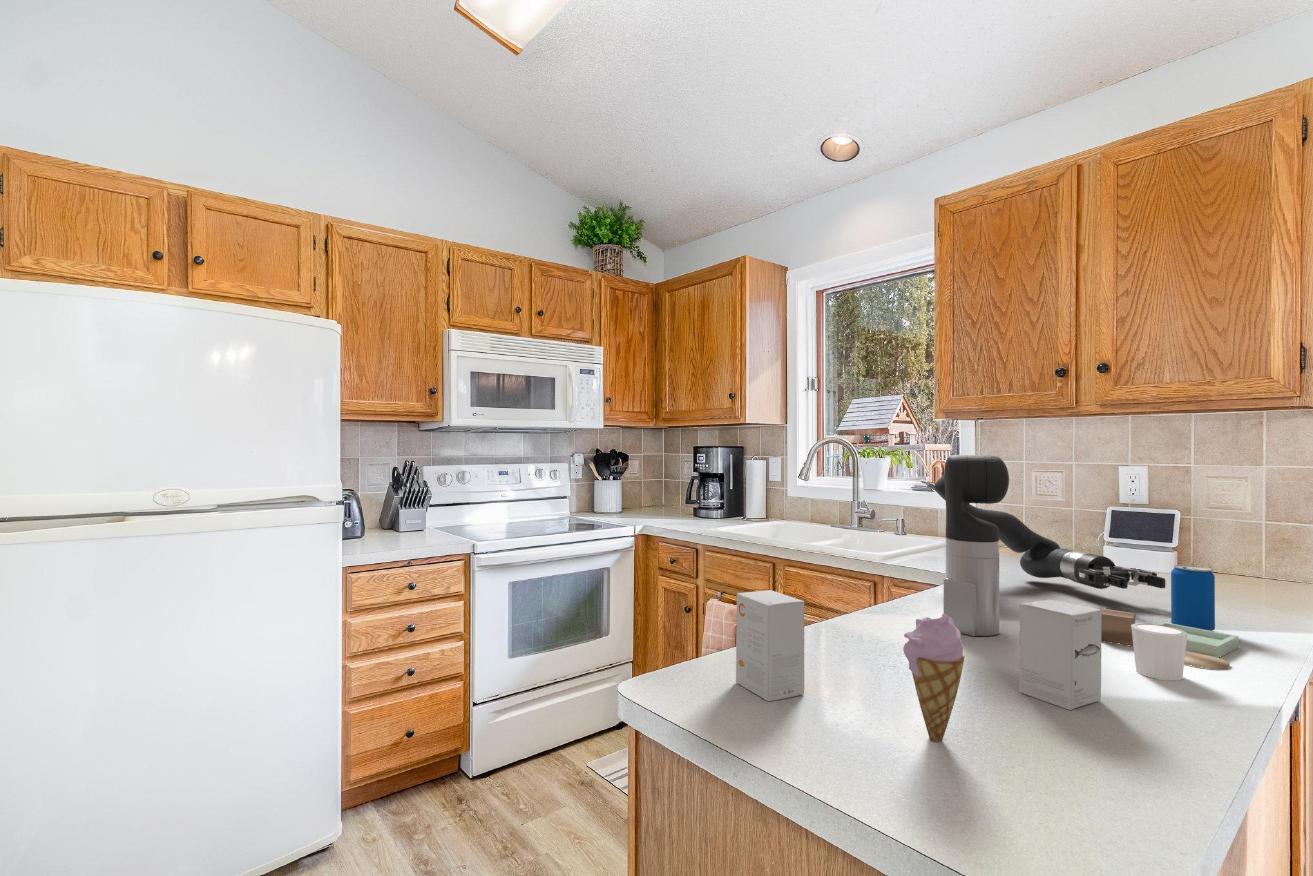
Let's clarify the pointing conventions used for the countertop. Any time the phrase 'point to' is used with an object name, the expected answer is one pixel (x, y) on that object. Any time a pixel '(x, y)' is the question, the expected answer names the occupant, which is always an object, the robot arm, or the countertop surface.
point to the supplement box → (1060, 653)
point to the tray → (1207, 640)
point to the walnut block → (1117, 626)
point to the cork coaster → (1205, 661)
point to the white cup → (1159, 651)
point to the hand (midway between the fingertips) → (1144, 583)
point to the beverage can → (1193, 597)
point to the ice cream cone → (935, 670)
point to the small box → (770, 644)
